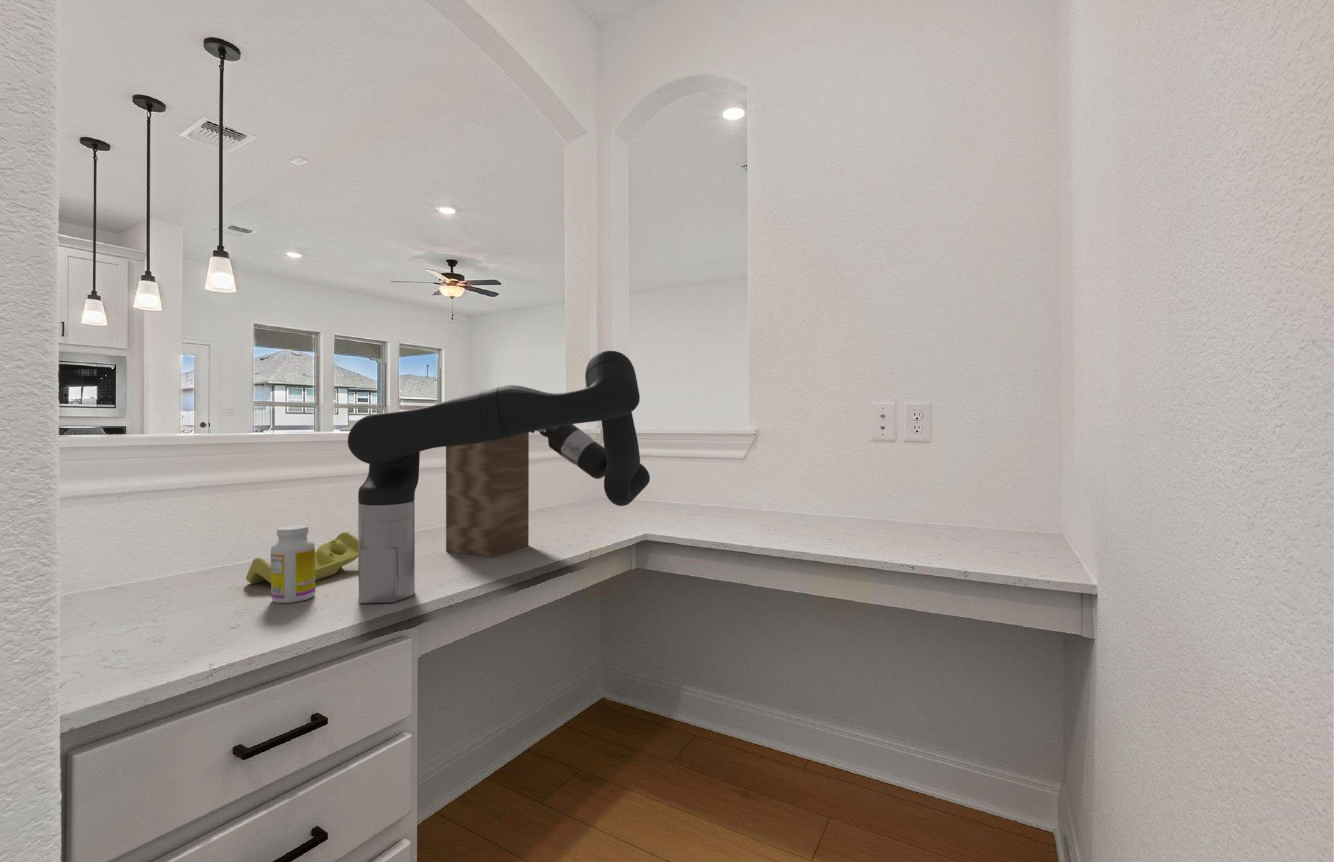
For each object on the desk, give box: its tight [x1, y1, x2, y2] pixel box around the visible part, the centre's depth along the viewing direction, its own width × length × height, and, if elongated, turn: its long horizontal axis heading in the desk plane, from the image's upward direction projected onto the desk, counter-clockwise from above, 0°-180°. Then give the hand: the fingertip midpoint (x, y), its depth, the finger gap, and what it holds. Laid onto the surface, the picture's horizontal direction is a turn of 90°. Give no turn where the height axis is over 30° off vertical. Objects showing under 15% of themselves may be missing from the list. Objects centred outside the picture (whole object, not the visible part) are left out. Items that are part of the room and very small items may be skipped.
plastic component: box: [245, 531, 358, 585], centre depth 118 cm, size 20×7×10 cm
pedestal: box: [445, 432, 530, 558], centre depth 144 cm, size 14×14×30 cm
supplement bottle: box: [270, 524, 316, 604], centre depth 103 cm, size 7×7×13 cm
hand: (521, 407), depth 139 cm, fingers closed on hammer, 3 cm apart
